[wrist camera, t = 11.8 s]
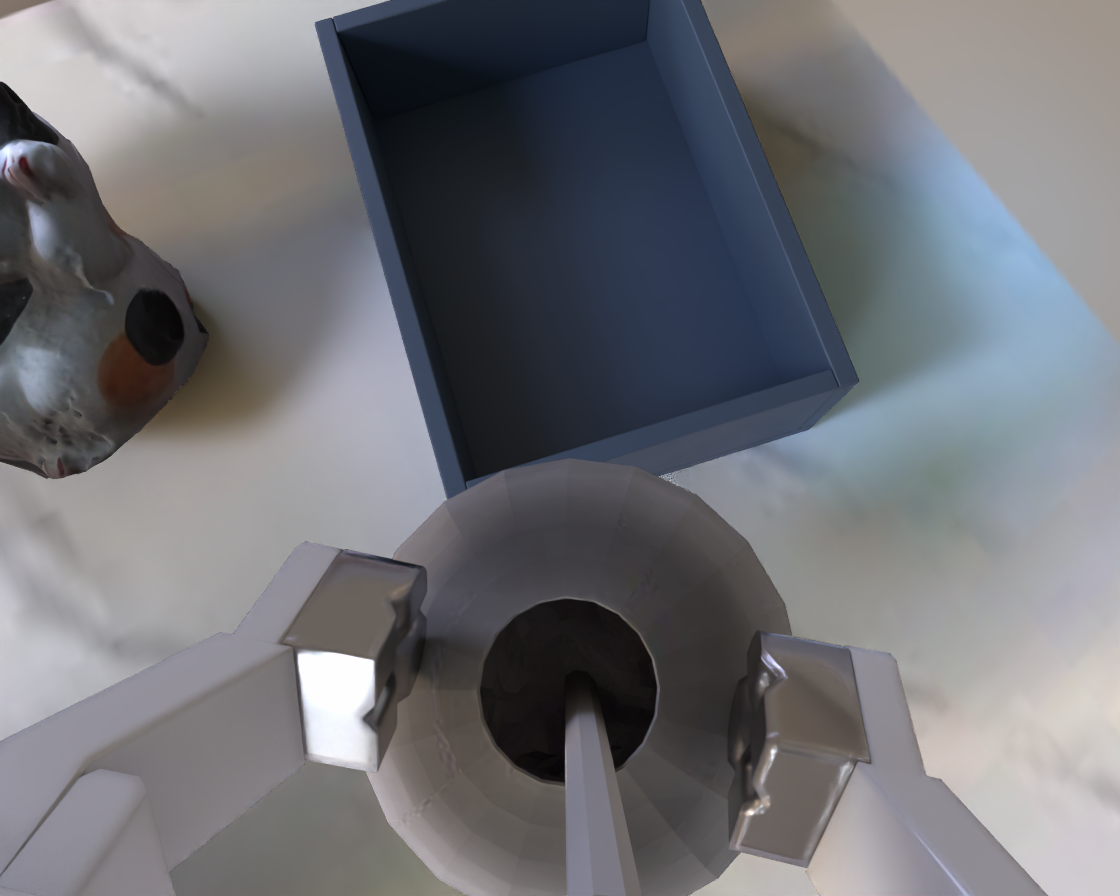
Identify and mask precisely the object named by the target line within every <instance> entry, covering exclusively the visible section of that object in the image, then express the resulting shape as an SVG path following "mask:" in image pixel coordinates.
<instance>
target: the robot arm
mask: <svg viewBox="0 0 1120 896" xmlns="http://www.w3.org/2000/svg"><path fill="white" fill-rule="evenodd" d="M426 594H427V570H426V569H425V567H424V566H421V565H416V564H412V563H407V562H403V561H398V560H393V559H389V558H384V557H379V556H375V555H370V554H366V553H361V552H356V551H352V550H347V549H345V550H342V549H338V548H333V547H329V546H324V545H320V544H315V543H311V542H307V541H305V542H304V543H302V544H300V545H299V546H297V547H296V548H294V550H293V551H292V553H291V554H290V555H289V557H288V558H287V559H286V561H285V562H284V564H283V565H282V566H281V568H280V569H279V571H278V572H277V573H276V575H275V576H274V578H273V579H272V580H271V582H270V583H269V585H268V586H267V587H266V589H265V590H264V591H263V593H262V594H261V596H260V597H259V598H258V600H257V601H256V603H255V604H254V605H253V607H252V608H251V610H250V611H249V612H248V614H247V615H246V617H245V618H244V619H243V621H242V622H241V623H240V625H239V626H238V628H237V629H236V630H235V632H234V633H233V635H232V634H227V633H221V632H220V633H218V634H216V635H214V636H212V637H210V638H208V639H206V640H204V641H202V642H200V643H198V644H196V645H194V646H192V647H190V648H187V649H185V650H183V651H181V652H179V653H177V654H175V655H173V656H171V657H169V658H167V659H165V660H163V661H161V662H159V663H157V664H155V665H153V666H151V667H149V668H147V669H145V670H143V671H141V672H139V673H137V674H135V675H133V676H131V677H129V678H127V679H125V680H123V681H121V682H119V683H117V684H115V685H113V686H111V687H109V688H107V689H105V690H103V691H101V692H99V693H97V694H94V695H92V696H90V697H88V698H86V699H84V700H82V701H80V702H78V703H76V704H74V705H72V706H70V707H68V708H66V709H64V710H62V711H60V712H58V713H56V714H54V715H52V716H50V717H48V718H46V719H44V720H42V721H40V722H38V723H36V724H34V725H32V726H30V727H28V728H26V729H24V730H22V731H20V732H18V733H16V734H14V735H12V736H10V737H8V738H6V739H3V740H1V741H0V896H176V895H175V892H174V888H173V885H172V881H171V878H170V874H169V872H170V871H171V870H173V869H174V868H175V867H176V866H178V865H179V864H180V863H181V862H183V861H184V860H185V859H186V858H188V857H189V856H190V855H191V854H193V853H194V852H195V851H196V850H198V849H199V848H200V847H201V846H203V845H204V844H205V843H206V842H208V841H209V840H210V839H212V838H213V837H214V836H215V835H217V834H218V833H219V832H220V831H222V830H223V829H224V828H225V827H227V826H228V825H229V824H230V823H232V822H233V821H234V820H235V819H237V818H238V817H239V816H240V815H242V814H243V813H244V812H245V811H247V810H248V809H249V808H250V807H252V806H253V805H254V804H256V803H257V802H258V801H259V800H261V799H262V798H263V797H264V796H266V795H267V794H268V793H269V792H271V791H272V790H273V789H274V788H276V787H277V786H278V785H279V784H281V783H282V782H283V781H284V780H286V779H287V778H288V777H289V776H291V775H292V774H293V773H294V772H296V771H297V770H298V769H300V768H301V767H302V766H303V765H305V760H309V761H315V762H320V763H326V764H331V765H336V766H342V767H347V768H352V769H358V770H363V771H369V772H374V773H377V772H378V770H379V768H380V765H381V763H382V761H383V758H384V756H385V754H386V751H387V749H388V746H389V744H390V742H391V739H392V737H393V735H394V732H395V730H396V728H397V703H399V702H400V701H402V700H403V699H405V698H406V697H408V696H409V695H410V694H411V691H412V689H413V686H414V684H415V681H416V679H417V676H418V673H419V669H420V664H421V660H422V655H423V650H424V646H425V641H426V634H427V618H426V617H425V616H424V614H423V613H422V612H421V610H420V607H421V605H422V603H423V600H424V598H425V596H426ZM747 673H748V675H746V676H745V677H743V678H741V679H740V680H738V683H737V687H736V690H735V694H734V697H733V701H732V707H731V712H730V718H729V724H728V740H727V761H728V762H729V764H730V765H731V767H732V768H733V769H734V771H735V775H734V778H733V781H732V784H731V787H730V790H729V793H728V829H729V849H731V850H735V851H739V852H743V853H747V854H751V855H755V856H759V857H763V858H767V859H772V860H776V861H780V862H784V863H788V864H792V865H796V866H800V867H804V868H807V870H806V873H807V875H808V877H809V878H810V880H811V882H812V884H813V885H814V887H815V889H816V891H817V892H818V894H819V896H1048V895H1047V894H1046V893H1045V892H1044V891H1043V890H1042V889H1041V887H1040V886H1039V885H1038V884H1037V883H1036V882H1035V881H1034V880H1033V879H1032V878H1031V877H1030V875H1029V874H1028V873H1027V872H1026V871H1025V870H1024V869H1023V868H1022V867H1021V866H1020V865H1019V864H1018V862H1017V861H1016V860H1015V859H1014V858H1013V857H1012V856H1011V855H1010V854H1009V853H1008V852H1007V850H1006V849H1005V848H1004V847H1003V846H1002V845H1001V844H1000V843H999V842H998V841H997V840H996V839H995V837H994V836H993V835H992V834H991V833H990V832H989V831H988V830H987V829H986V828H985V827H984V825H983V824H982V823H981V822H980V821H979V820H978V819H977V818H976V817H975V816H974V815H973V814H972V812H971V811H970V810H969V809H968V808H967V807H966V806H965V805H964V804H963V803H962V802H961V800H960V799H959V798H958V797H957V796H956V795H955V794H954V793H953V792H952V791H951V790H950V789H949V787H948V786H947V785H946V784H945V783H944V782H943V781H942V780H941V779H938V778H933V777H929V776H926V772H925V768H924V764H923V760H922V757H921V753H920V749H919V745H918V741H917V738H916V734H915V730H914V726H913V722H912V719H911V715H910V711H909V707H908V703H907V699H906V696H905V692H904V688H903V684H902V680H901V677H900V673H899V669H898V665H897V661H896V660H895V658H894V657H893V656H892V655H891V654H890V653H886V652H880V651H874V650H869V649H863V648H857V647H851V646H844V647H843V646H841V645H837V644H832V643H826V642H821V641H815V640H810V639H805V638H799V637H794V636H788V635H783V634H777V633H772V632H766V631H761V630H757V631H756V632H755V634H754V636H753V637H752V640H751V643H750V646H749V649H748V652H747Z"/></svg>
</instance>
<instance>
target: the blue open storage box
mask: <svg viewBox="0 0 1120 896" xmlns="http://www.w3.org/2000/svg"><path fill="white" fill-rule="evenodd" d="M315 27H316V31H317V34H318V38H319V42H320V45H321V49H322V52H323V56H324V59H325V63H326V67H327V70H328V74H329V77H330V81H331V85H332V88H333V92H334V95H335V99H336V103H337V106H338V110H339V113H340V117H341V120H342V124H343V128H344V131H345V135H346V138H347V142H348V146H349V149H350V153H351V156H352V160H353V163H354V167H355V171H356V174H357V178H358V181H359V185H360V189H361V192H362V196H363V199H364V203H365V207H366V210H367V214H368V217H369V221H370V224H371V228H372V232H373V235H374V239H375V242H376V246H377V250H378V253H379V257H380V260H381V264H382V267H383V271H384V275H385V278H386V282H387V285H388V289H389V293H390V296H391V300H392V303H393V307H394V311H395V314H396V318H397V321H398V325H399V328H400V332H401V336H402V339H403V343H404V346H405V350H406V354H407V357H408V361H409V364H410V368H411V371H412V375H413V379H414V382H415V386H416V389H417V393H418V397H419V400H420V404H421V407H422V411H423V415H424V418H425V422H426V425H427V429H428V432H429V436H430V440H431V443H432V447H433V450H434V454H435V458H436V461H437V465H438V468H439V472H440V475H441V479H442V483H443V486H444V490H445V493H446V497H447V500H448V499H450V498H452V497H454V496H456V495H458V494H460V493H462V492H463V491H465V490H467V489H469V488H471V487H473V486H475V485H477V484H479V483H481V482H482V481H484V480H486V479H488V478H490V477H492V476H494V475H496V474H498V473H500V472H501V471H503V470H508V469H513V468H519V467H524V466H530V465H535V464H541V463H546V462H552V461H557V460H563V459H568V458H571V459H579V460H587V461H595V462H602V463H610V464H618V465H626V466H633V467H637V468H639V469H642V470H644V471H646V472H648V473H650V474H652V475H655V476H657V477H658V476H661V475H664V474H667V473H671V472H674V471H677V470H680V469H683V468H687V467H690V466H693V465H696V464H700V463H703V462H706V461H709V460H712V459H716V458H719V457H722V456H725V455H728V454H732V453H735V452H738V451H741V450H744V449H748V448H751V447H754V446H757V445H760V444H764V443H767V442H770V441H773V440H776V439H780V438H783V437H786V436H789V435H792V434H796V433H799V432H802V431H805V430H809V429H810V428H811V427H812V426H813V425H814V424H815V423H816V422H817V421H818V420H819V419H820V418H821V417H822V416H823V415H825V414H826V413H827V412H828V411H829V410H830V409H831V408H832V407H833V406H834V405H835V404H836V403H837V402H838V401H839V400H840V399H841V398H842V397H844V396H845V395H846V394H847V393H848V392H849V391H850V390H851V389H852V388H853V387H854V386H855V385H856V384H857V383H858V382H859V379H858V376H857V374H856V372H855V369H854V367H853V364H852V362H851V360H850V357H849V355H848V352H847V350H846V348H845V345H844V343H843V340H842V338H841V336H840V333H839V331H838V328H837V326H836V324H835V321H834V319H833V316H832V314H831V312H830V309H829V307H828V304H827V302H826V300H825V297H824V295H823V292H822V290H821V288H820V285H819V283H818V280H817V278H816V276H815V273H814V271H813V268H812V266H811V264H810V261H809V259H808V256H807V254H806V252H805V249H804V247H803V244H802V242H801V240H800V237H799V235H798V233H797V230H796V228H795V225H794V223H793V221H792V218H791V216H790V213H789V211H788V209H787V206H786V204H785V201H784V199H783V197H782V194H781V192H780V189H779V187H778V185H777V182H776V180H775V177H774V175H773V173H772V170H771V168H770V165H769V163H768V161H767V158H766V156H765V153H764V151H763V149H762V146H761V144H760V141H759V139H758V137H757V134H756V132H755V129H754V127H753V125H752V122H751V120H750V117H749V115H748V113H747V110H746V108H745V105H744V103H743V101H742V98H741V96H740V93H739V91H738V89H737V86H736V84H735V82H734V79H733V77H732V74H731V72H730V70H729V67H728V65H727V62H726V60H725V58H724V55H723V53H722V50H721V48H720V46H719V43H718V41H717V38H716V36H715V34H714V31H713V29H712V26H711V24H710V22H709V19H708V17H707V14H706V12H705V10H704V7H703V5H702V2H701V0H390V1H387V2H383V3H380V4H376V5H373V6H370V7H366V8H363V9H359V10H356V11H352V12H349V13H345V14H342V15H338V16H335V17H333V19H332V18H328V19H324V20H321V21H318V22H315Z"/></svg>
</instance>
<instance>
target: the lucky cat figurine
mask: <svg viewBox="0 0 1120 896" xmlns="http://www.w3.org/2000/svg"><path fill="white" fill-rule="evenodd" d="M208 340H209V334H208V332H207V331H206V329H205V328H204V326H203V325H202V324H201V322H200V321H199V320H198V319H197V317H196V316H195V314H194V313H193V303H192V301H191V299H190V297H189V294H188V292H187V289H186V286H185V284H184V281H183V280H182V278H181V275H180V273H179V271H178V270H177V269H176V268H174V267H173V266H172V265H171V264H169V263H167V262H166V261H164V260H162V259H161V258H160V257H159V256H158V255H157V254H156V253H155V252H154V251H152V250H151V249H150V248H149V247H147V246H146V245H145V244H144V243H143V242H142V241H140V240H139V239H137V238H135V237H133V236H131V235H129V234H127V233H125V232H124V231H122V230H121V229H120V228H119V227H118V226H117V225H116V223H115V222H114V221H113V219H112V218H111V216H110V215H109V213H108V212H107V210H106V209H105V207H104V205H103V204H102V201H101V199H100V196H99V193H98V191H97V188H96V185H95V183H94V180H93V177H92V174H91V171H90V169H89V166H88V165H87V163H86V162H85V161H84V159H83V158H82V156H81V155H80V153H79V152H78V150H77V149H76V148H75V146H74V145H73V143H72V142H71V141H70V140H68V139H66V138H65V137H64V136H63V135H62V134H60V133H59V132H58V131H57V130H56V129H55V128H54V127H53V126H52V125H50V124H49V123H48V122H47V121H46V120H45V119H43V118H42V117H40V116H39V115H38V114H36V113H34V112H32V111H31V110H30V109H29V108H28V106H27V105H26V104H25V103H24V102H23V101H22V100H21V99H20V98H19V96H18V95H17V94H16V93H15V92H14V91H13V90H12V89H11V88H10V87H9V86H8V85H6V84H5V83H3V82H0V462H3V463H6V464H10V465H13V466H16V467H19V468H22V469H25V470H28V471H32V472H34V473H36V474H38V475H40V476H42V477H44V478H46V479H47V478H52V479H58V478H64V477H66V476H70V475H73V474H79V473H82V472H86V470H88V469H90V468H91V467H93V466H95V465H97V464H99V463H101V462H103V461H104V460H106V459H107V458H109V457H110V456H111V455H112V454H113V453H115V452H116V451H117V450H118V449H119V448H120V447H121V446H122V445H123V444H124V443H125V442H127V441H128V440H129V439H131V438H132V437H133V436H134V435H135V434H136V433H138V432H139V431H140V430H141V429H142V428H143V427H144V426H145V425H146V424H147V423H148V422H149V421H150V420H151V419H152V418H153V417H154V416H155V415H156V414H157V413H158V412H159V411H160V410H161V409H162V408H163V407H164V406H165V405H166V404H167V402H168V401H169V400H171V399H172V397H173V395H174V394H175V392H176V391H177V390H179V388H180V387H181V386H183V385H185V383H186V382H187V380H188V378H190V377H191V375H192V373H193V371H194V369H195V367H196V365H197V363H198V361H199V359H200V357H201V355H202V352H203V351H204V349H205V347H206V345H207V342H208Z"/></svg>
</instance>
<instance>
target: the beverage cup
mask: <svg viewBox="0 0 1120 896" xmlns="http://www.w3.org/2000/svg"><path fill="white" fill-rule="evenodd" d="M392 559H393V560H398V561H403V562H407V563H412V564H416V565H421V566H424V567H425V569H426V570H427V594H426V596H425V598H424V600H423V603H422V605H421V607H420V610H421V612H422V613H423V614H424V616H425V617H426V618H427V634H426V641H425V646H424V650H423V655H422V660H421V664H420V669H419V673H418V676H417V679H416V681H415V684H414V686H413V689H412V691H411V694H410V695H409V696H408V697H406V698H405V699H403V700H402V701H400V702H399V703H397V728H396V730H395V732H394V735H393V737H392V739H391V742H390V744H389V746H388V749H387V751H386V754H385V756H384V758H383V761H382V763H381V765H380V768H379V770H378V772H377V773H374V772H369V771H366V773H367V776H368V778H369V780H370V783H371V785H372V787H373V789H374V792H375V794H376V796H377V799H378V801H379V803H380V805H381V808H382V810H383V812H384V814H385V817H386V819H387V821H388V823H389V825H390V826H391V827H392V828H393V829H394V830H395V831H396V832H397V834H398V835H399V836H400V837H401V838H402V839H403V840H404V841H405V843H406V844H407V845H408V846H409V847H410V848H411V849H412V850H413V851H414V853H415V854H416V855H417V856H418V857H419V858H420V859H421V860H422V862H423V863H424V864H425V865H426V866H427V867H428V868H429V869H430V870H431V872H432V873H433V874H434V875H435V876H436V877H437V878H438V879H439V880H440V881H442V882H444V883H446V884H447V885H449V886H451V887H453V888H455V889H456V890H458V891H460V892H462V893H463V894H465V895H467V896H688V895H690V894H692V893H693V892H695V891H697V890H698V889H700V888H702V887H704V886H705V885H707V884H709V883H711V882H712V881H714V880H716V879H717V878H719V877H720V875H721V874H722V873H723V872H724V871H725V870H726V868H727V867H728V866H729V865H730V864H731V863H732V862H733V860H734V859H735V858H736V857H737V856H738V855H739V853H740V852H739V851H735V850H731V849H729V829H728V793H729V790H730V787H731V784H732V781H733V778H734V775H735V771H734V769H733V768H732V767H731V765H730V764H729V762H728V761H727V740H728V724H729V718H730V712H731V707H732V701H733V697H734V694H735V690H736V687H737V683H738V680H740V679H741V678H743V677H745V676H746V675H748V673H747V652H748V649H749V646H750V643H751V640H752V637H753V636H754V634H755V632H756V631H757V630H761V631H766V632H772V633H777V634H783V635H788V636H792V632H791V628H790V624H789V620H788V616H787V611H786V607H785V603H784V602H783V600H782V598H781V597H780V595H779V593H778V592H777V590H776V588H775V586H774V585H773V583H772V581H771V580H770V578H769V576H768V575H767V573H766V571H765V569H764V568H763V566H762V564H761V563H760V561H759V559H758V558H757V556H756V554H755V553H754V551H753V549H752V547H751V546H750V544H749V542H748V541H747V540H746V539H745V538H744V537H742V536H741V535H740V534H739V533H738V532H737V531H736V530H735V529H734V528H733V527H731V526H730V525H729V524H728V523H727V522H726V521H725V520H724V519H723V518H722V517H720V516H719V515H718V514H717V513H716V512H715V511H714V510H713V509H712V508H711V507H709V506H708V505H707V504H706V503H705V502H704V501H703V500H702V499H701V498H700V497H698V496H697V495H696V494H693V493H691V492H689V491H687V490H685V489H683V488H680V487H678V486H676V485H674V484H672V483H670V482H668V481H665V480H663V479H661V478H659V477H657V476H655V475H652V474H650V473H648V472H646V471H644V470H642V469H639V468H637V467H633V466H626V465H618V464H610V463H602V462H595V461H587V460H579V459H571V458H568V459H563V460H557V461H552V462H546V463H541V464H535V465H530V466H524V467H519V468H513V469H508V470H503V471H501V472H500V473H498V474H496V475H494V476H492V477H490V478H488V479H486V480H484V481H482V482H481V483H479V484H477V485H475V486H473V487H471V488H469V489H467V490H465V491H463V492H462V493H460V494H458V495H456V496H454V497H452V498H450V499H448V500H446V501H445V502H444V503H443V504H442V505H441V506H440V507H439V508H438V509H437V510H436V511H435V512H434V513H433V514H432V515H431V516H430V517H429V518H428V519H427V520H426V521H425V522H424V523H423V524H422V525H421V526H420V527H419V528H418V529H417V530H416V531H415V532H414V533H413V534H412V535H411V536H410V537H409V538H408V539H407V540H406V541H405V542H404V543H403V544H402V545H401V546H400V547H399V548H398V549H397V550H396V552H395V554H394V555H393V557H392Z"/></svg>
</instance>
